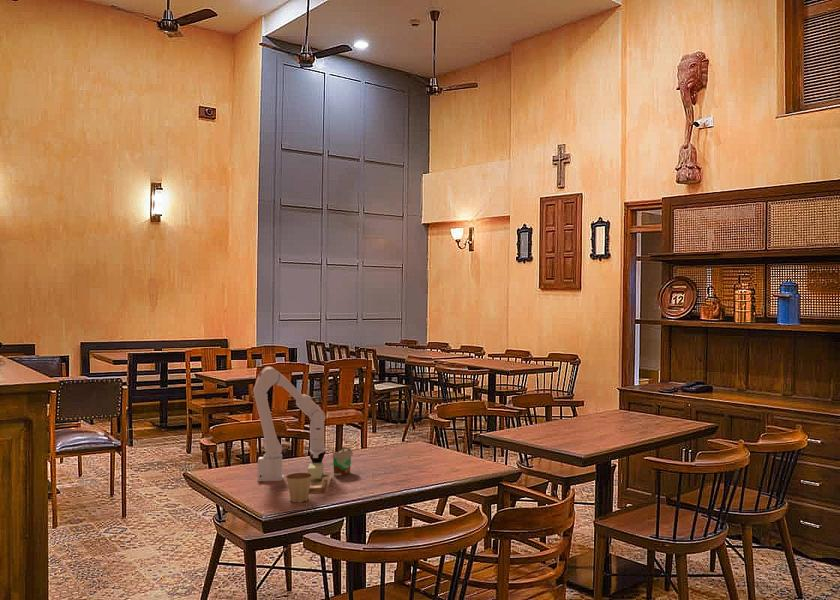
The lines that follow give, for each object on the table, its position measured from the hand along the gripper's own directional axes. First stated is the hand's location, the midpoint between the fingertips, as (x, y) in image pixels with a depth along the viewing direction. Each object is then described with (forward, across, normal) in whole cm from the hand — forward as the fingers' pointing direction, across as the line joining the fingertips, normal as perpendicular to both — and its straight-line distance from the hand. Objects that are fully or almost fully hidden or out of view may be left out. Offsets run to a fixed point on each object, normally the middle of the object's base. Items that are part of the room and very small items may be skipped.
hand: (317, 472), depth 282 cm
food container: (+2, 0, -11) cm, 11 cm away
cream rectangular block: (+1, -7, 0) cm, 7 cm away
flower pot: (+2, -34, +3) cm, 35 cm away
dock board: (+1, -15, 0) cm, 15 cm away
